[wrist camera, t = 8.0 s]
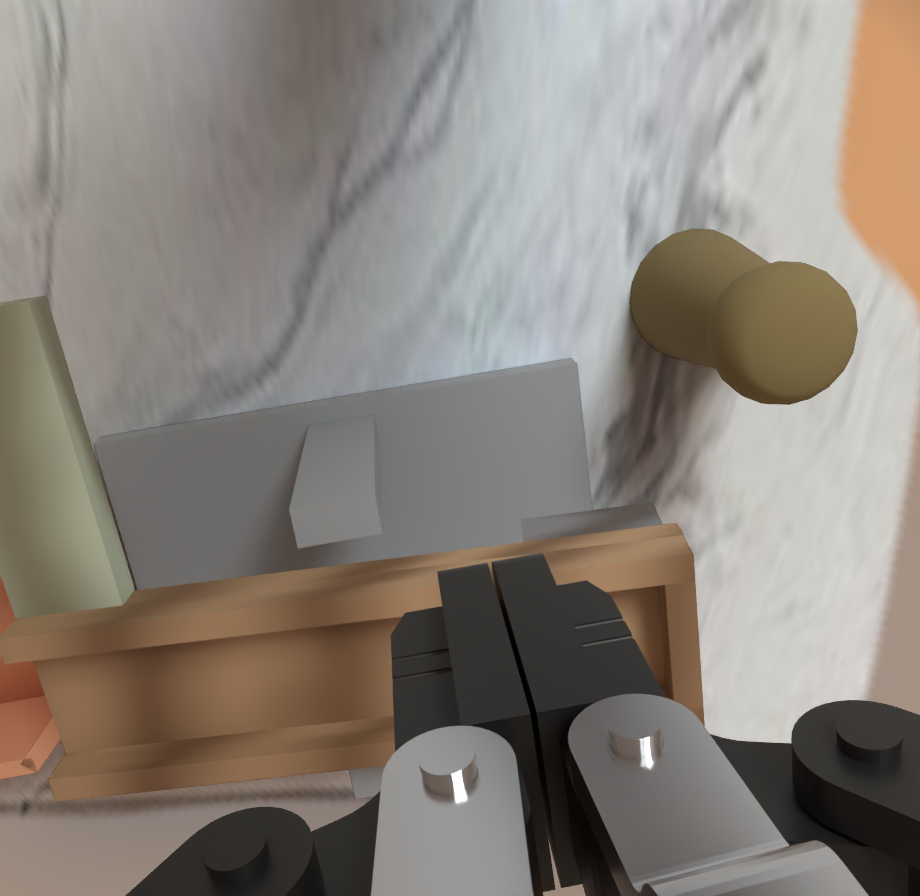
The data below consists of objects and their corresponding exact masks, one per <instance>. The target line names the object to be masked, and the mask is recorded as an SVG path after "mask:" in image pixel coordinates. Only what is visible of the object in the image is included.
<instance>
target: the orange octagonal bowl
mask: <svg viewBox="0 0 920 896" xmlns="http://www.w3.org/2000/svg"><path fill="white" fill-rule="evenodd" d="M15 619H16V618H15V615H14V612H13V609H12V606H11V604H10V601H9V598H8V595H7V592H6V590H5V587H4V584H3V581H2V578H1V576H0V635H1V634H2V633H3V632H4V631H5V629H6V628H7V627H8V626H9V625H10V624H11V623H12V622H13V621H14V620H15ZM59 741H60V736H59V733H58V730H57V727H56V725H55V722H54V719H53V716H52V713H51V711H50V708H49V705H48V702H47V699H46V697H45V694H44V691H43V688H42V685H41V683H40V680H39V677H38V674H37V671H36V669H35V666H34V663H33V661H27V662H19V663H11V664H5V663H4V660H3V657H2V655H1V652H0V779H5V778H10V777H16V776H21V775H27V774H32V773H37V772H38V770H39V769H40V768H41V766H42V765H43V763H44V762H45V761H46V759H47V758H48V756H49V755H50V753H51V752H52V751H53V749H54V748H55V746H56V745H57V744H58V742H59Z"/></svg>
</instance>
